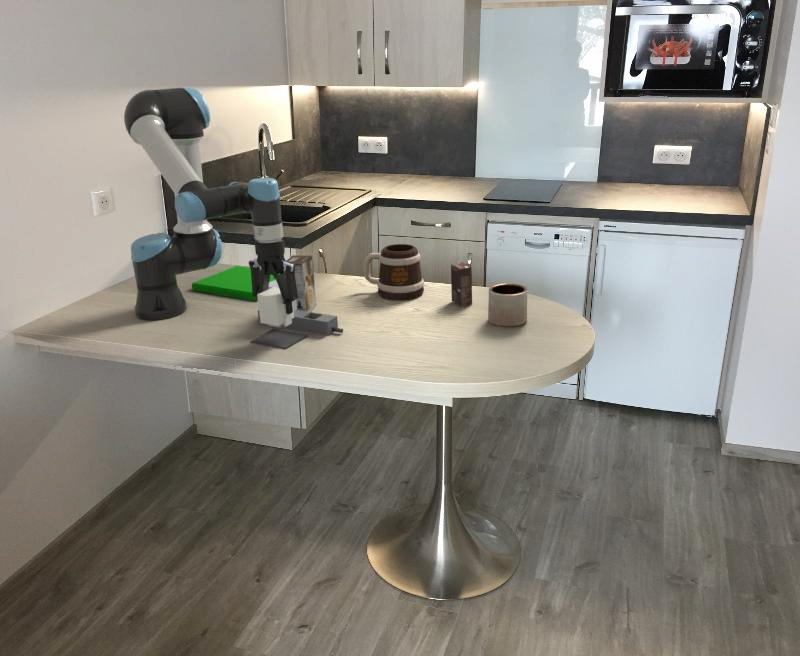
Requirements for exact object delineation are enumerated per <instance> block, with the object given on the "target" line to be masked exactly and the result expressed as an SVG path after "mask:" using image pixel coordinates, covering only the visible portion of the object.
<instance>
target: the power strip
mask: <svg viewBox="0 0 800 656" xmlns="http://www.w3.org/2000/svg"><path fill="white" fill-rule="evenodd" d="M257 317H258V324H259V325H263V326H269V324H264V323H260V314H259V309H258V310H257ZM338 321H339V320H338V316H337V315H332V314H325V313H320V312H319V313H318V312H312V311H311V312H307V311H301V310H295V311H294V318H292V324H290V325H288V326H284V325H283V326H281V327H280V328H282V329H288V330H294V331H300V332H306V333H311V334H316V335H322V336H330V335H332V334H333V333H340V334H343V333H344V328H340V327H339V322H338Z"/></svg>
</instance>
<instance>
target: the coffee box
mask: <svg viewBox="0 0 800 656" xmlns="http://www.w3.org/2000/svg"><path fill="white" fill-rule="evenodd" d="M286 262H287V263H290V264H292V263H294V264H295V271H294V273H295V280H296V286H297V293H298V299H296V302H297V310H301V311H307V312H312V311H313V309H314V308H315V307H317V297H316V284H315V275H314V262H313V255H292V256H290V257H289V258H288V259H287V260H286ZM284 269H285V268H284ZM285 278H286V277H285Z"/></svg>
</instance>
